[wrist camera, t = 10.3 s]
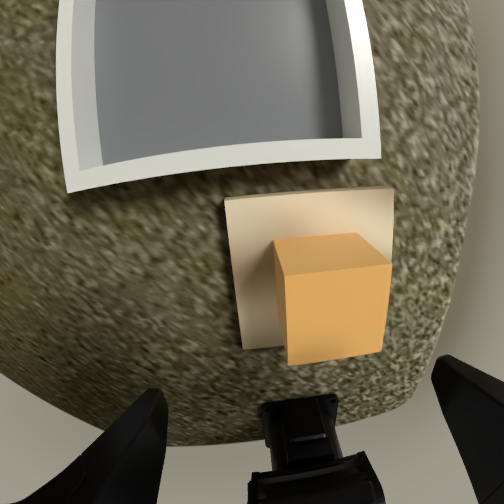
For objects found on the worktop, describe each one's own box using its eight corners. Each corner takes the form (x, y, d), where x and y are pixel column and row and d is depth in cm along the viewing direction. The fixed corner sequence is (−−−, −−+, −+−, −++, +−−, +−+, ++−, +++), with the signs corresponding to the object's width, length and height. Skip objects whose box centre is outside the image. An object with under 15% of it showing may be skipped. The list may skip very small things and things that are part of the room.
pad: (378, 323, 21) (383, 330, 20) (242, 341, 21) (243, 349, 20) (387, 186, 18) (393, 188, 17) (225, 197, 18) (224, 200, 17)
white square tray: (356, 154, 17) (381, 158, 14) (94, 183, 17) (67, 193, 14) (323, -61, 12) (336, -87, 9) (88, -30, 12) (67, -50, 9)
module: (353, 305, 20) (381, 351, 15) (277, 315, 20) (288, 365, 15) (356, 232, 18) (392, 263, 13) (273, 239, 18) (284, 275, 13)
